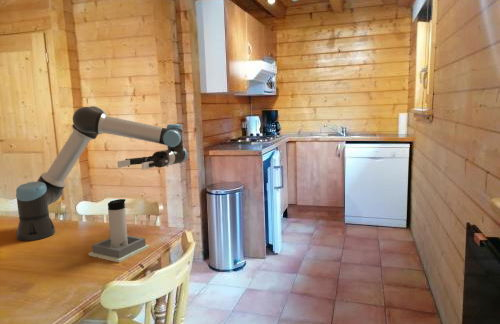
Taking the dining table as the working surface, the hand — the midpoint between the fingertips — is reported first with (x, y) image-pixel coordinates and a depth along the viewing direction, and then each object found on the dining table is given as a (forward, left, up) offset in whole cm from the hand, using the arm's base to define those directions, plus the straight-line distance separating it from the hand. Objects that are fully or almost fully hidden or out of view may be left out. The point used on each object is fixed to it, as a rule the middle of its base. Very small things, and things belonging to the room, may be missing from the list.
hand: (130, 165), depth 156 cm
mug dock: (+5, -14, -32) cm, 35 cm away
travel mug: (+5, -14, -31) cm, 34 cm away
